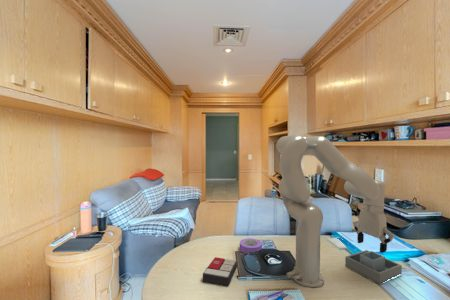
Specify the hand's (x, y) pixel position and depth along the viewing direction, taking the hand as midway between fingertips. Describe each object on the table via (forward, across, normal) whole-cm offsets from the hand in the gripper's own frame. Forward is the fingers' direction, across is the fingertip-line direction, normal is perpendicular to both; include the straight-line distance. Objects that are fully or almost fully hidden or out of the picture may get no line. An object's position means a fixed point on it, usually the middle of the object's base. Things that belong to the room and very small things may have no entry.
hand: (371, 247), depth 98 cm
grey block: (+10, 0, +1) cm, 10 cm away
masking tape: (+13, -40, -37) cm, 56 cm away
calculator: (+14, -26, -60) cm, 67 cm away
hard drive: (+11, -24, +12) cm, 29 cm away
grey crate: (+11, 0, +1) cm, 11 cm away
